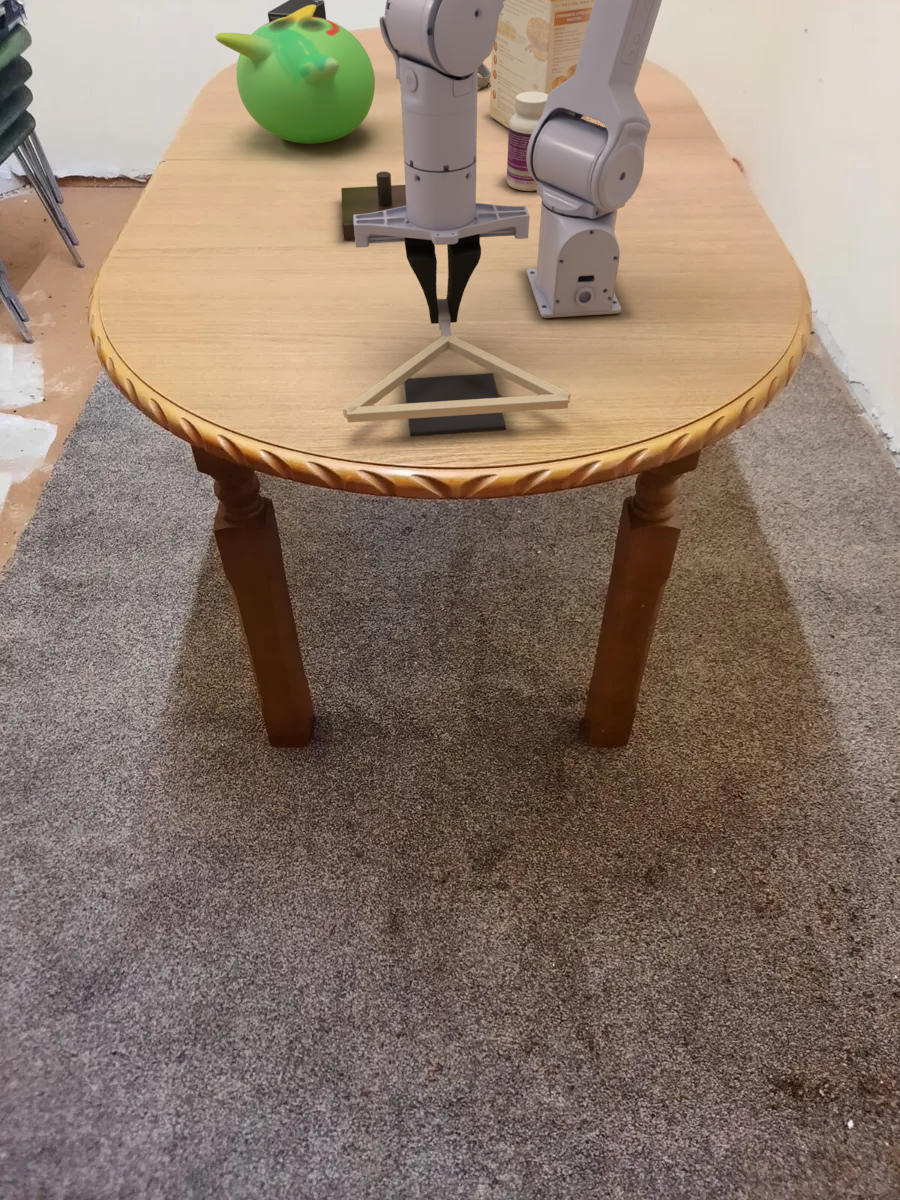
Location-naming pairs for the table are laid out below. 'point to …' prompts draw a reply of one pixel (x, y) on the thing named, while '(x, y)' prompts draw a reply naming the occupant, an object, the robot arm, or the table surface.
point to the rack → (370, 201)
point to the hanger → (544, 400)
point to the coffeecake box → (535, 49)
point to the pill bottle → (523, 138)
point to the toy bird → (303, 77)
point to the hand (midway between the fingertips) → (442, 317)
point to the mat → (451, 391)
